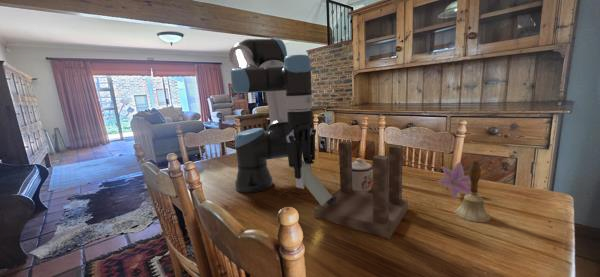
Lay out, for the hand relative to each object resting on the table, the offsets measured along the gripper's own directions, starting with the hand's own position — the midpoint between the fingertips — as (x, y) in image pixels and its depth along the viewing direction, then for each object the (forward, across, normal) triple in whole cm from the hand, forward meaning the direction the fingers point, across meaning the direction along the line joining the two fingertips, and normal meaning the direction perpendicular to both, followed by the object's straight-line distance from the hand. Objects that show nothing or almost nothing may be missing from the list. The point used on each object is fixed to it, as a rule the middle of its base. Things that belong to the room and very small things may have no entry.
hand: (303, 185), depth 79 cm
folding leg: (+3, 0, -8) cm, 9 cm away
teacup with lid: (+9, +26, -8) cm, 28 cm away
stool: (+8, +6, -16) cm, 19 cm away
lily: (+8, +34, -38) cm, 52 cm away
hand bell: (+8, +21, -43) cm, 49 cm away
